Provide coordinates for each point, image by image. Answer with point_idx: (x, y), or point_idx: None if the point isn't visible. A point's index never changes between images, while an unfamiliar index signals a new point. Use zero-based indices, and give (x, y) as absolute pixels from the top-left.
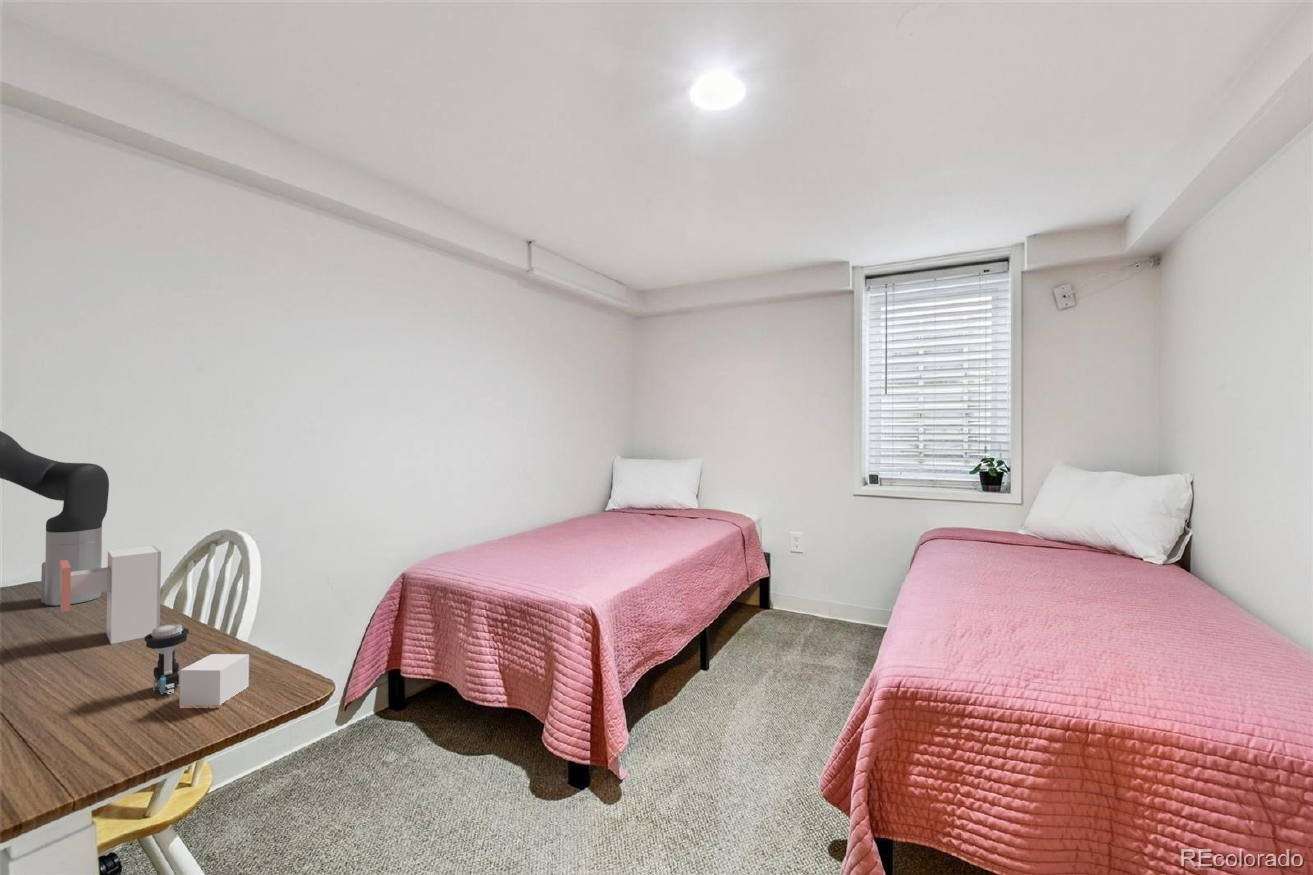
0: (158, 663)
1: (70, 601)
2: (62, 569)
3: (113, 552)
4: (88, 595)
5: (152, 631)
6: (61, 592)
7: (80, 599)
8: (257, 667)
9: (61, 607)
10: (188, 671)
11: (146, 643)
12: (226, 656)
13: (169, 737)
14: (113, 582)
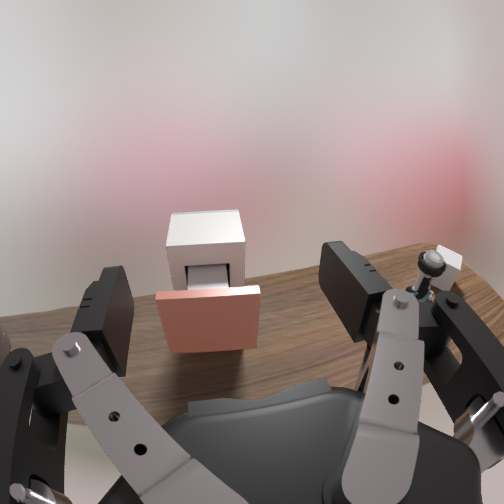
0: (427, 285)
1: (5, 356)
2: (252, 296)
3: (193, 241)
4: (6, 339)
5: (440, 263)
6: (232, 331)
7: (7, 348)
8: (390, 260)
9: (239, 347)
10: (460, 267)
11: (439, 274)
12: (440, 252)
13: (479, 294)
14: (244, 278)
